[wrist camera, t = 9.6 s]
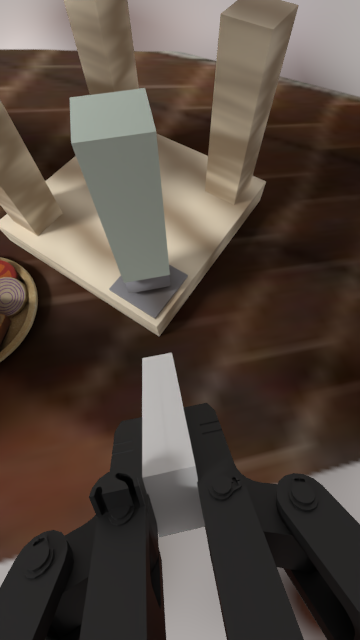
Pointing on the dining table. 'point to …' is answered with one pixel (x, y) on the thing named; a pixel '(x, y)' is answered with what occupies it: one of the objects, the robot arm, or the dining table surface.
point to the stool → (174, 160)
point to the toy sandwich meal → (15, 305)
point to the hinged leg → (124, 181)
